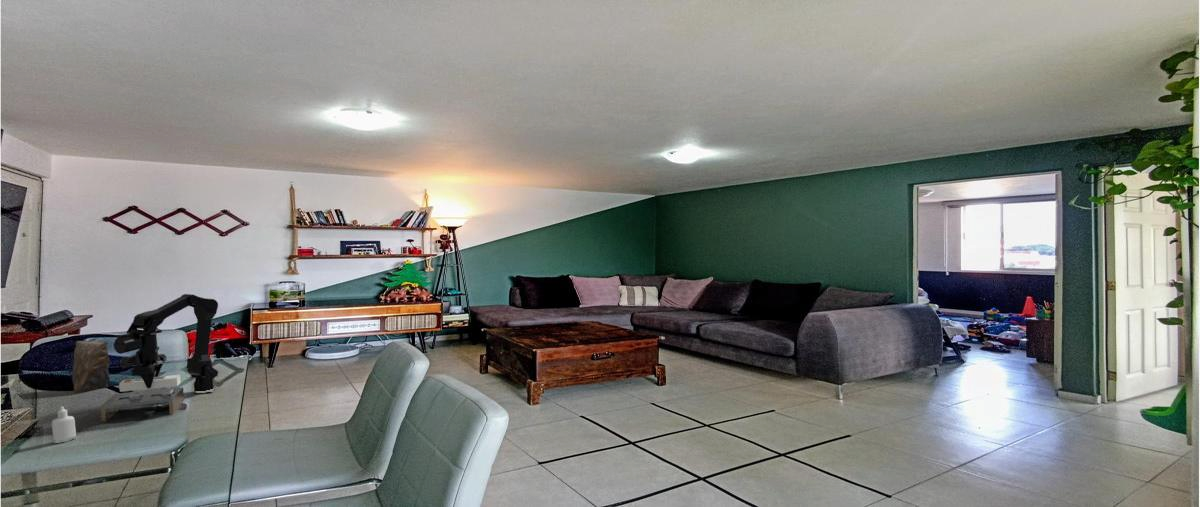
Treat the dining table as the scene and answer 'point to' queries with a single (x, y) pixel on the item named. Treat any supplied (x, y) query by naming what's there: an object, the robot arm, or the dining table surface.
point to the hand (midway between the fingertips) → (151, 386)
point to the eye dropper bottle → (63, 426)
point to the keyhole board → (142, 401)
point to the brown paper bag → (90, 366)
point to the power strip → (151, 386)
